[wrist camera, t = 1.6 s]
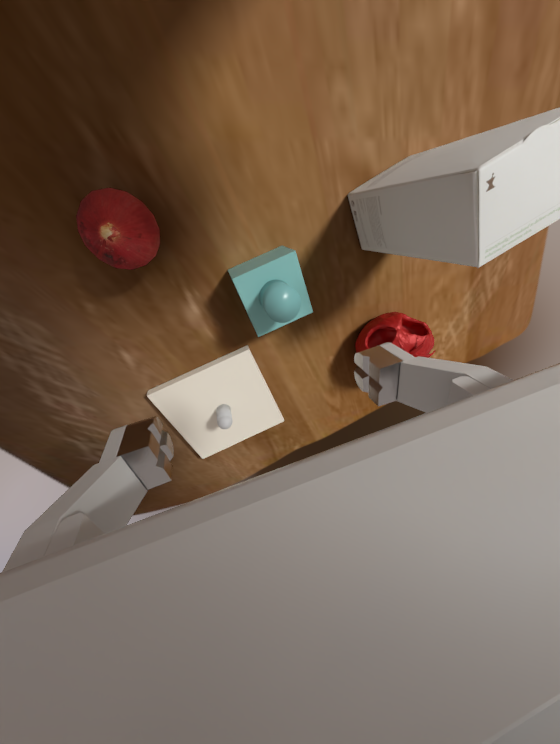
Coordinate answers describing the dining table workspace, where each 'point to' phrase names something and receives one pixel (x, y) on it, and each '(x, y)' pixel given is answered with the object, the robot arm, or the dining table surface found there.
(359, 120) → the dining table surface
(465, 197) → the skincare box
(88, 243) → the onion
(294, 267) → the teal knobbed block
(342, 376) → the dining table surface
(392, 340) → the pomegranate
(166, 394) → the post stand
